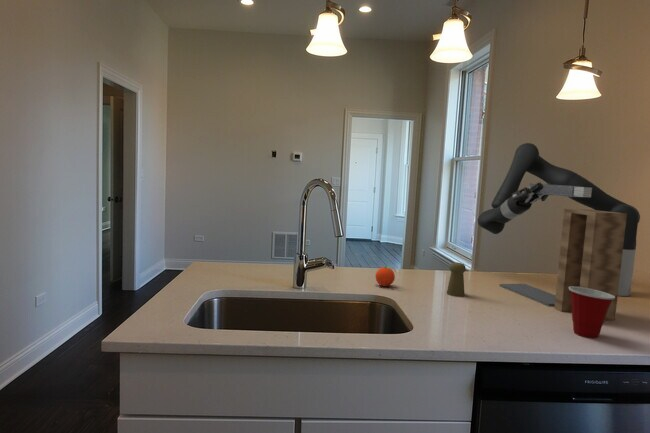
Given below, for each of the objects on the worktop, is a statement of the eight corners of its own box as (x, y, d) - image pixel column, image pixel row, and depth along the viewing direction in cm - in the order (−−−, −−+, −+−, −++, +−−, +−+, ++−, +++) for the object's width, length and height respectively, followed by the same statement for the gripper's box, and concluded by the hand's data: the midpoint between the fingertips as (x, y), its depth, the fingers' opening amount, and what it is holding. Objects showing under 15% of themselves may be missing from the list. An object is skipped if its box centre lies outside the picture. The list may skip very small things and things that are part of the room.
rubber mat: (524, 285, 172) (524, 283, 172) (576, 305, 147) (577, 303, 147) (499, 285, 170) (499, 283, 170) (548, 306, 145) (548, 303, 144)
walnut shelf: (583, 307, 145) (593, 209, 142) (614, 319, 133) (626, 213, 130) (554, 308, 142) (564, 208, 139) (584, 321, 131) (595, 212, 128)
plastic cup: (620, 342, 114) (626, 296, 113) (580, 341, 113) (585, 295, 112) (592, 327, 125) (596, 285, 124) (555, 326, 124) (559, 284, 123)
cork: (467, 294, 154) (470, 263, 153) (459, 297, 150) (462, 265, 149) (451, 290, 159) (454, 260, 158) (443, 293, 154) (445, 262, 153)
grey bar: (537, 193, 161) (538, 183, 161) (591, 198, 138) (592, 186, 138) (528, 193, 160) (529, 183, 160) (582, 197, 137) (583, 186, 137)
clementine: (391, 283, 166) (392, 264, 165) (400, 287, 159) (401, 268, 159) (371, 283, 163) (372, 264, 163) (379, 288, 157) (381, 268, 156)
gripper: (497, 196, 170) (525, 174, 154) (528, 197, 173) (559, 176, 158) (501, 214, 167) (531, 193, 151) (533, 215, 170) (566, 195, 155)
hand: (545, 185), depth 155 cm, fingers closed on grey bar, 3 cm apart
